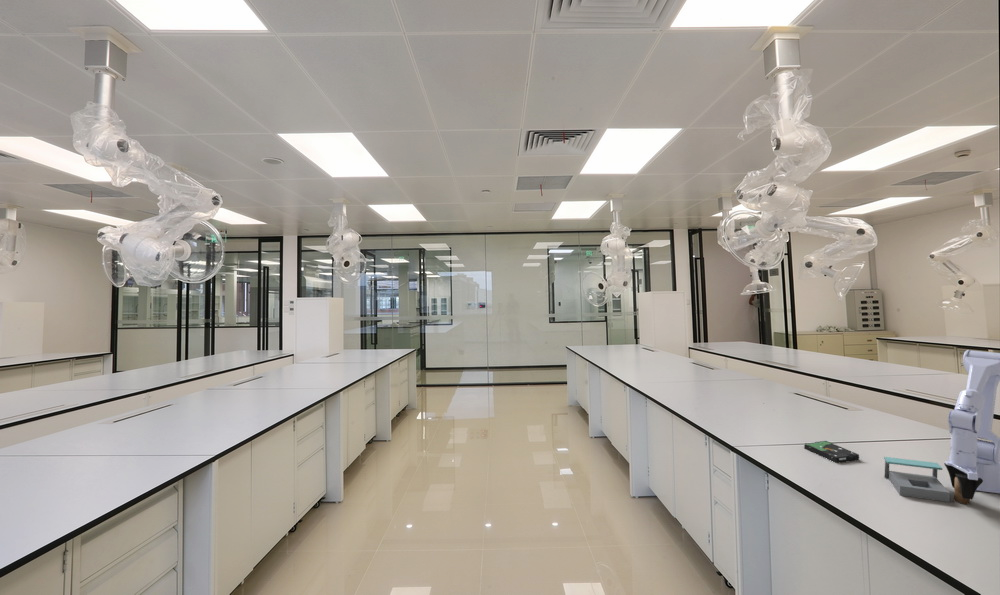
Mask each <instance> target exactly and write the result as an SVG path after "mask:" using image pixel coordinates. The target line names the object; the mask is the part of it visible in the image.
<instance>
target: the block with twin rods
mask: <svg viewBox="0 0 1000 595" xmlns="http://www.w3.org/2000/svg"><path fill="white" fill-rule="evenodd" d="M883 459H884V478H885V479H889V471H890V465H896V466H899V465H900V466H906V467H915V468H922V469H932V474H931V476H934V477H936V478H937V479H938V470H939V471H943V467H942V466H941V465H940V464H939V463H938V462H932V461H923V460H915V459H906V458H899V457H891V456H889V457H888V456H884V457H883Z"/></svg>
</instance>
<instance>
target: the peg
mask: <svg viewBox="0 0 1000 595" xmlns="http://www.w3.org/2000/svg"><path fill="white" fill-rule="evenodd" d="M953 489H954V492H953V493H954V494H953V501H954V502H956V503H958V504H962V505H970V503H971V499H964V498H963V497H962V495H961V488H960V483H959V481H958V478H957V477H955V484H954V488H953Z"/></svg>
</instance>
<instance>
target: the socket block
mask: <svg viewBox="0 0 1000 595" xmlns="http://www.w3.org/2000/svg"><path fill="white" fill-rule="evenodd" d="M888 480H889V482H890V481H891V482H890V483H891V485H892V484H893V485H892V486H893V487H894V489H895V491H897V493H898V494H899V496H903V497H910V496H912V497H911V498H917V499H918V498H919V499H923V498H925V500H930V499H934V500H933V501H937V500H939V502H944V503H950V499H951V498H950V497H951V492H950V491H949V490H948V489H947V488H946V487H945V486H944V484H942V482H941V481H940V479H938V477H937V478H936V477H934V476H932V475H924V474H917V473H910V472H901V471H893V470H889V478H888Z"/></svg>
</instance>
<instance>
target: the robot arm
mask: <svg viewBox="0 0 1000 595" xmlns="http://www.w3.org/2000/svg"><path fill="white" fill-rule="evenodd" d="M962 365H963V367H964V369H965V371H966V373H967V375H968V376H967V382H966V387H965V388H966V389H963V390H961V391H960V392H959V394H958V397H957V400H956V404H955V405H954V410H950V411H949V413H948V417H947V424H948V429H949V430H948V431H949V434H950V454H949V455H948V460H945V461H944V466H945V468H946V470H947V473H948V475H949V480H950V483H951V486H952V487H951V488H953V489H954V484H955V477H957V478H958V481H959V483H960V488H961V495H962V497H963V498H964V499H970V501H971V500H973V499H974V497H975V494H976V491H979V492H985V493H993V494H1000V436H998V435H997V434H996V433H994V431H993V423H994V415H995V408H996V407H995V405H996V398H997V389H998V386H999V383H1000V352H991V351H981V350H971V349H966V350H965V351H964V353H963V356H962Z"/></svg>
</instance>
